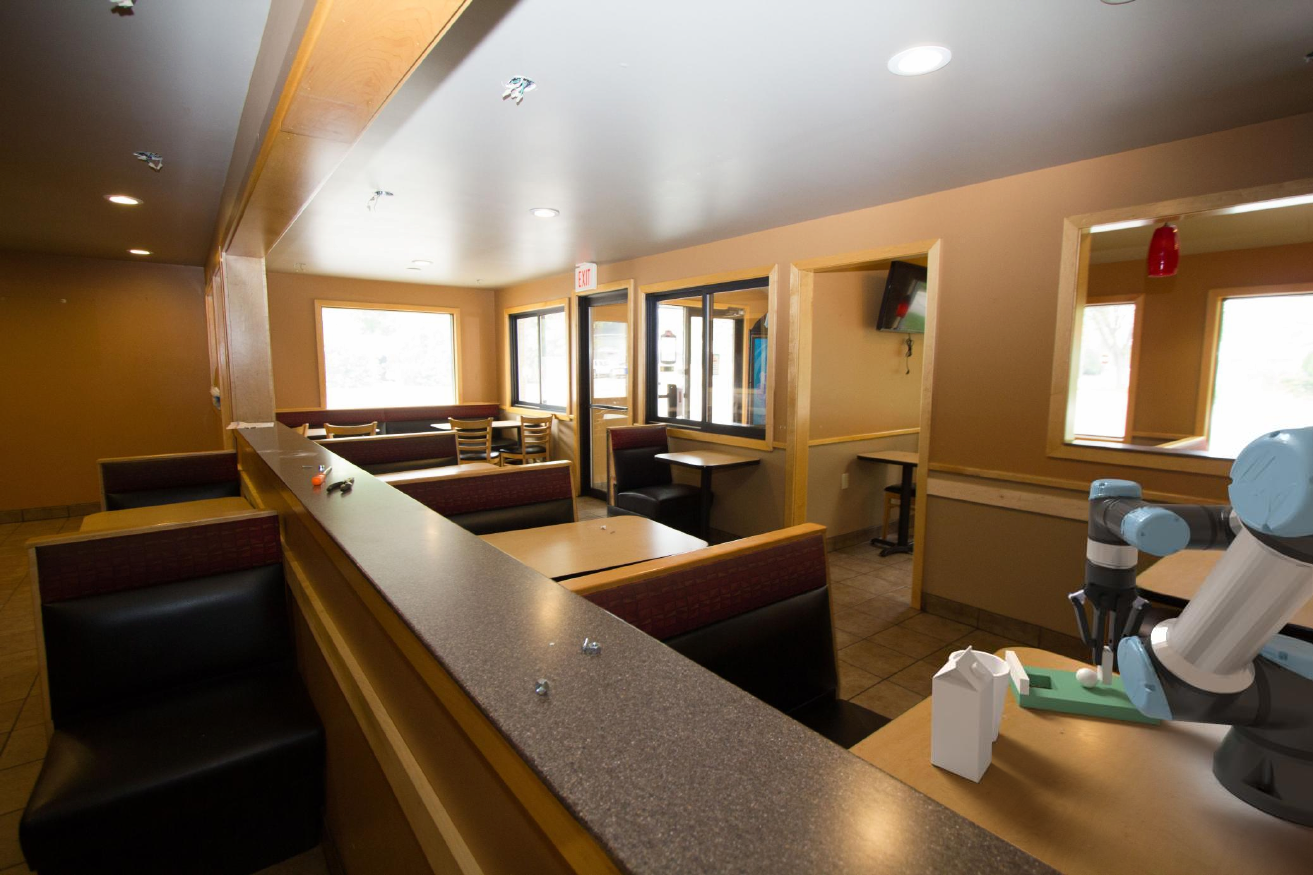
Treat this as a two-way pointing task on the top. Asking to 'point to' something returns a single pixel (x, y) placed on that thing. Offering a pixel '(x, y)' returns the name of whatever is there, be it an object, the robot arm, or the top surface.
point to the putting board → (1071, 693)
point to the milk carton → (962, 717)
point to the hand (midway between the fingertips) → (1104, 681)
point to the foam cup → (1001, 682)
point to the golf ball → (1087, 677)
